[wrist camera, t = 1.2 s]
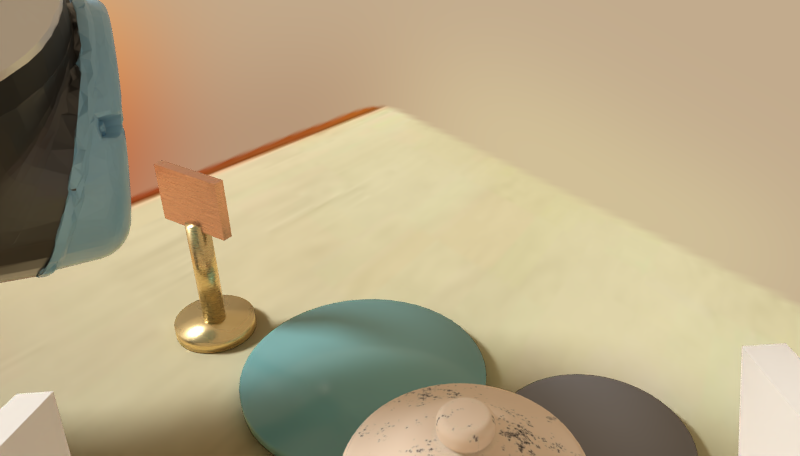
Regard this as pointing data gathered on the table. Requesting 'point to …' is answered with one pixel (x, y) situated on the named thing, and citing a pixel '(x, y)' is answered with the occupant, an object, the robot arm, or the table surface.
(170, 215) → the brass tag sign
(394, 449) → the teacup with lid
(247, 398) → the teal coaster
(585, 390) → the charcoal coaster
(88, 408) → the table surface
